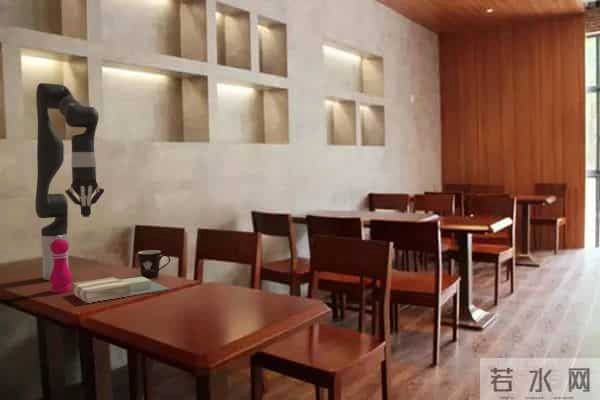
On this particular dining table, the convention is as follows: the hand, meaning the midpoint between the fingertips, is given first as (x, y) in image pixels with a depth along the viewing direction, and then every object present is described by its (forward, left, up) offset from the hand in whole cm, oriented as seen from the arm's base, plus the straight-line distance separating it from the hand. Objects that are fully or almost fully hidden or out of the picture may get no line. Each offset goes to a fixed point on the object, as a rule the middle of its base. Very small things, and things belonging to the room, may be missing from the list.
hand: (85, 216), depth 184 cm
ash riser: (+4, +3, -27) cm, 27 cm away
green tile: (+4, +15, -26) cm, 30 cm away
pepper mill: (-12, -6, -27) cm, 30 cm away
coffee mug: (-12, +28, -27) cm, 41 cm away
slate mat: (+4, +17, -27) cm, 32 cm away
